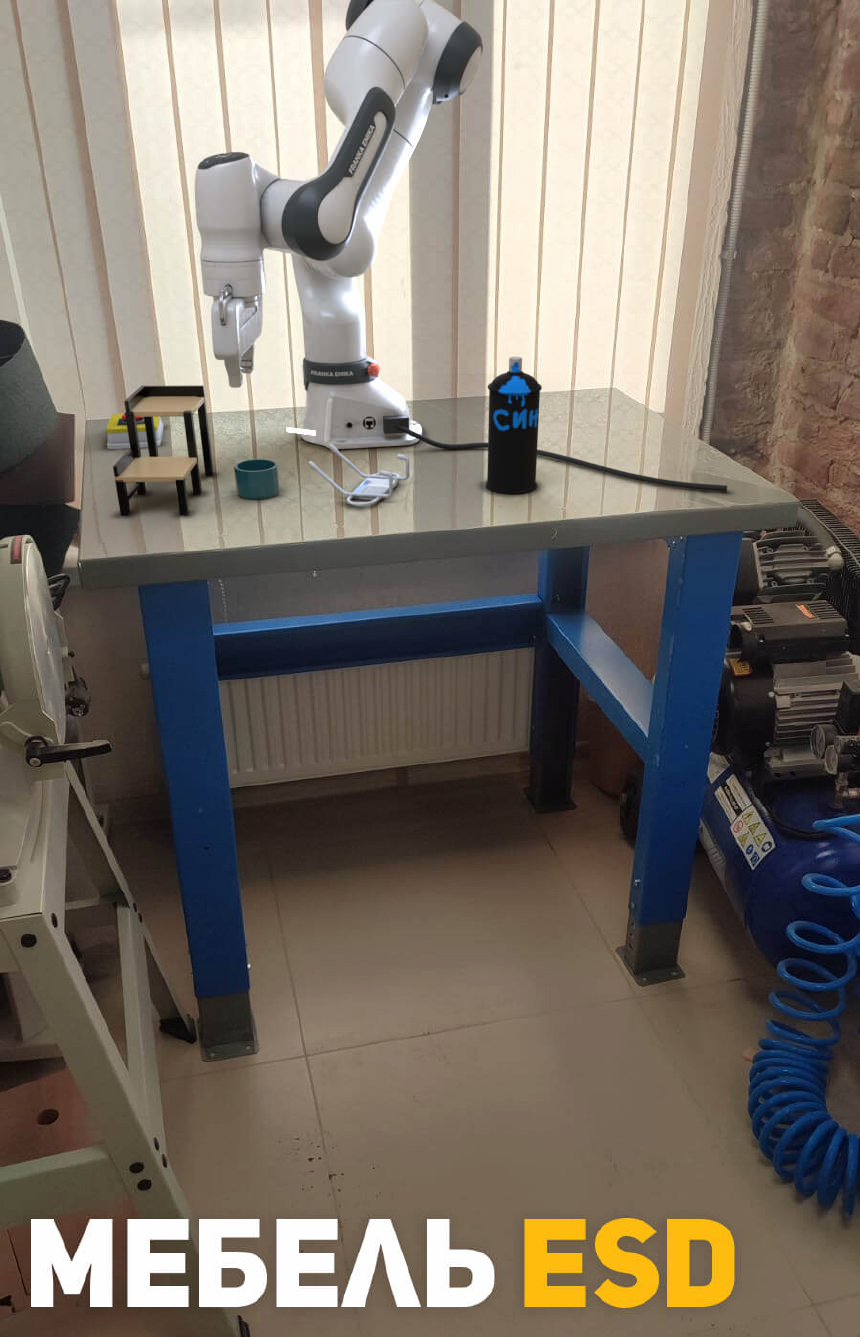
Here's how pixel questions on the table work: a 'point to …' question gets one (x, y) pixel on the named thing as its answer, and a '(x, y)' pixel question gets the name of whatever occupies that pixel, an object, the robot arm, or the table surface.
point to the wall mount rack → (368, 482)
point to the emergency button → (119, 431)
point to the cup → (257, 478)
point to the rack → (154, 467)
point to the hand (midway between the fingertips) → (242, 379)
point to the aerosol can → (513, 431)
